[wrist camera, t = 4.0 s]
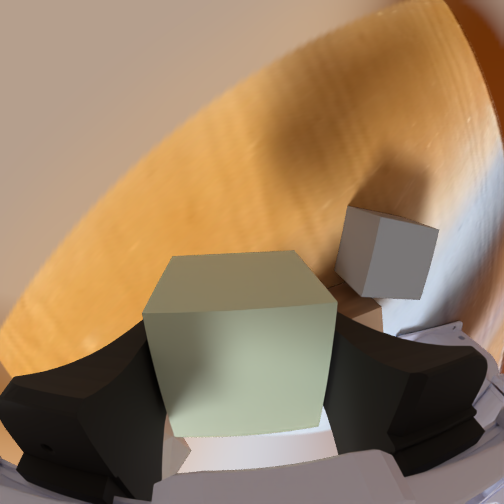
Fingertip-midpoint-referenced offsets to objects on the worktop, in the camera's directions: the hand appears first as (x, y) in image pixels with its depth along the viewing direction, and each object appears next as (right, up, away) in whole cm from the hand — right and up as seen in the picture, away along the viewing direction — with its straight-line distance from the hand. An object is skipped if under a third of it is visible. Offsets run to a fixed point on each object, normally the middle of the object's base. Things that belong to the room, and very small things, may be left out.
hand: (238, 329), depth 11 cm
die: (-10, -14, +14) cm, 22 cm away
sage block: (0, +1, +2) cm, 2 cm away
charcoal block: (+10, +4, +10) cm, 15 cm away
